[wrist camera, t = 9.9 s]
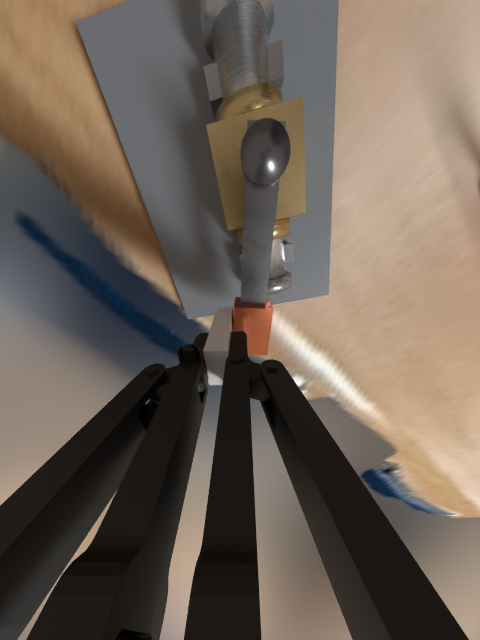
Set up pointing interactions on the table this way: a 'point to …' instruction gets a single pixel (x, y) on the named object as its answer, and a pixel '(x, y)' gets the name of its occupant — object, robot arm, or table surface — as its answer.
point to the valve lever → (259, 226)
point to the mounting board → (193, 142)
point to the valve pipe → (251, 115)
